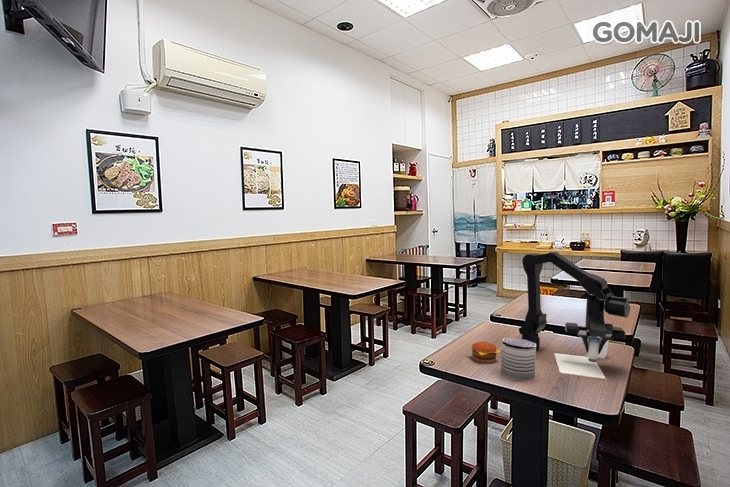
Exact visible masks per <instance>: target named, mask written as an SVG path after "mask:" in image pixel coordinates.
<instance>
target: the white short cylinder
mask: <svg viewBox="0 0 730 487" xmlns="http://www.w3.org/2000/svg"><path fill="white" fill-rule="evenodd" d="M609 341H610V340H608V341H607V342H606V343H605V344H604V346H603V348H602V350H601V352H600V354H598V359H606V358H607V354H608V347H609Z"/></svg>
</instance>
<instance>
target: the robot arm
mask: <svg viewBox="0 0 730 487" xmlns="http://www.w3.org/2000/svg"><path fill="white" fill-rule="evenodd" d="M521 260H522V261H521V263H522V268H523V270H524V272H525V275H526V278H527V279H526V281H527V282H526V283H527V284H526V285H527V304H528V309H527V312H526V315H525V317H524V324H523V325H522V326H519V328H518V331H519V334H520V335H521V339H524V340H528V341H531V342H533V343H536V352H537V351H539V349H540V344H541V338H540V336H539V333H541V331H542V330H543V329H545V327H546V324H548V322H547V316H548V315H547V313H543V311H542V309H541V308H542V306H541V303H542V302H541V282H540V281H541V280H540V278H541V277H540V275H541V272H542V270H543V268H544V267H543V266H544V264H547V263H551V264H552V265H554V266H556V267H557V268H559V269H560V270H561V271H562V272H564V273H566V275H569V276H571V278H573V279H575V280H576V281H577V282H578V283H579V285H580V287H582V288H583V289H584V290H585V292H584V294H582V295H580V298H581V299H584V300H585V299H586V304H585V305H586V308H585V309H586V310H585V325H584V326H581V325H578V323H575V322H565V324H564V330H565V332H566V334H570V335H577V336H578V337H580V338H581V339H582V342H583V345H584V349H585V352H586V353H587V354H588V334H587V333H589V336H592V337H599V349H598V354H600V352H601V350H602V348H603V346H604V344H605V343H606V342H607V341H608V340H609V341H612V340H613V338H615V339H620V340H626V336H627V334H626V331H625V330H624V329H623V328H622V327H620V326H613V324H612V323H605V313H607V315H610V316H615V317H622V318H628V317H629V315H630V313H631V312H630V311H631V306H630V302H629V298H628V297H620V296H619V297H618V296H615V295H614V293H613V292H612V291H611V289H610V288H609V284H608V281H607V280H606V279H605V278H604V277H601V276H599V275H597V274H595V273H591V272H588V271H585V270H584V269H582V268H581V267H579V266H578V265H576V264H575V263H573V262H572V261H571V260H569V259H568V258H566V257H564V256H563V255H561V254H560V252H558V251H551V252H550V251H549V252H547V253H542V254H539V253H538V252H537V253H528V254H525V255H524V256H523V257H522V259H521ZM612 336H613V338H612Z"/></svg>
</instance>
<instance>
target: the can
mask: <svg viewBox="0 0 730 487" xmlns="http://www.w3.org/2000/svg"><path fill="white" fill-rule="evenodd" d="M536 353H537V351H536V343H533V342H531V341H528V340H524V339H522V338H517V337H503V338H502V339H501V362H500V363H501V364H500V366H501V367H500V368H501V369H500V373H501V374H502V375H503V376H505V378H509V379H512V380H515V381H522V382H523V381H524V382H528V381H532V380H535V376H536Z"/></svg>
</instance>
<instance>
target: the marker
mask: <svg viewBox="0 0 730 487" xmlns="http://www.w3.org/2000/svg"><path fill="white" fill-rule="evenodd" d="M587 336H588V335H587ZM598 349H599V337H592V336H591V335H589V336H588V353H587V355H586V357H588V361H590V362H597V363H598V359H599V358H598Z"/></svg>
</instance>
